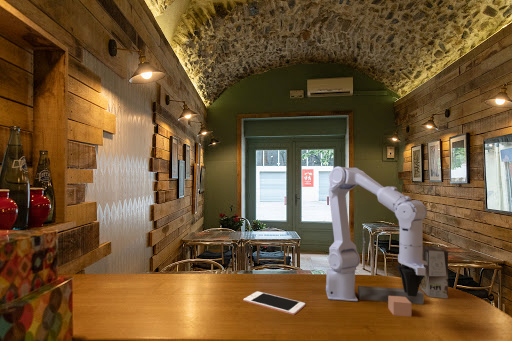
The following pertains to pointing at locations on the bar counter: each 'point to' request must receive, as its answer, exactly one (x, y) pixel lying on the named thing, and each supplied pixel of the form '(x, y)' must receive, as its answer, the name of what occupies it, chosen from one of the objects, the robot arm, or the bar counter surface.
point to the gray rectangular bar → (386, 294)
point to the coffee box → (435, 272)
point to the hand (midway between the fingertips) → (410, 294)
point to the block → (399, 305)
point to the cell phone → (275, 302)
